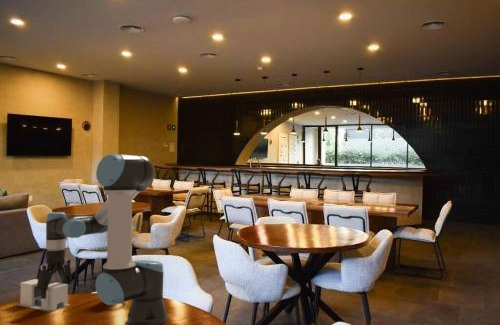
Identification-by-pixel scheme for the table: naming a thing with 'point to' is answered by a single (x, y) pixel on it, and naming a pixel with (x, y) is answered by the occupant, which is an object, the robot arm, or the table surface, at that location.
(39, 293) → the fixed jaw
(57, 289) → the jaw block
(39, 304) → the board
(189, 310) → the table surface
